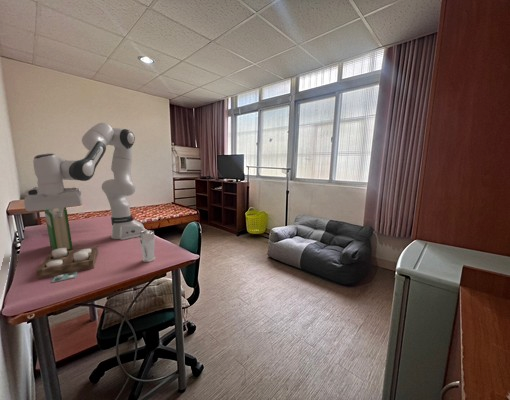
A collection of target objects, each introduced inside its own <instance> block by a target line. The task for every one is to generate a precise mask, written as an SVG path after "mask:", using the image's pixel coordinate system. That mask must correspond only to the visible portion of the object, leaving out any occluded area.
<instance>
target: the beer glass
mask: <svg viewBox="0 0 510 400" xmlns="http://www.w3.org/2000/svg"><path fill="white" fill-rule="evenodd" d="M146 230H147V231H142V232H140V236H139V244H140V245H139V246H140V248H141V251H142V262H144V263H149V262H153V261H155V260H156V256H155V244H156V243H155V241H156V238H155V231H154V230H148V229H146Z"/></svg>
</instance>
